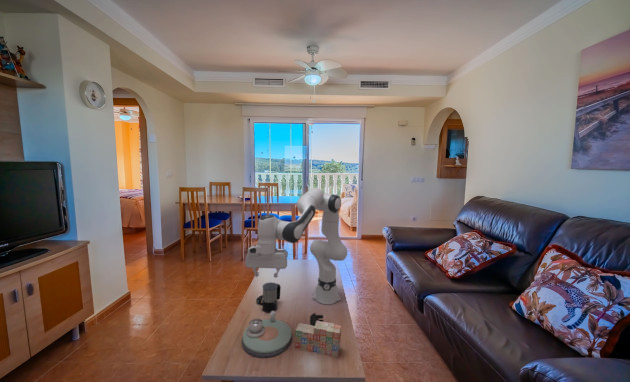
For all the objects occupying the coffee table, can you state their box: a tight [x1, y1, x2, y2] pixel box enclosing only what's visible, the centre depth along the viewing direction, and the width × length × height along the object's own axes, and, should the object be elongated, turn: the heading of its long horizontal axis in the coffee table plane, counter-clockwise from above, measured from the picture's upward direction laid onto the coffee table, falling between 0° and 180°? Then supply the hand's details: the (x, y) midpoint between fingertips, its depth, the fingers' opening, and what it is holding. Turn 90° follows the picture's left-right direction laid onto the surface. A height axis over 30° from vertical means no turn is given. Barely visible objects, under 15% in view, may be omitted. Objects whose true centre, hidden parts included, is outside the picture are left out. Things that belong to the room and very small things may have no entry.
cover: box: [247, 318, 265, 338], centre depth 129 cm, size 9×9×6 cm
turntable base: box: [241, 331, 293, 359], centre depth 129 cm, size 25×25×2 cm
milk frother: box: [255, 281, 282, 314], centre depth 159 cm, size 14×16×15 cm
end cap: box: [309, 312, 325, 326], centre depth 137 cm, size 10×7×7 cm
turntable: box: [242, 311, 292, 353], centre depth 128 cm, size 24×24×6 cm
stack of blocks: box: [294, 321, 342, 358], centre depth 123 cm, size 21×6×12 cm, turn 75°
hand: (266, 276), depth 124 cm, fingers open, 8 cm apart
